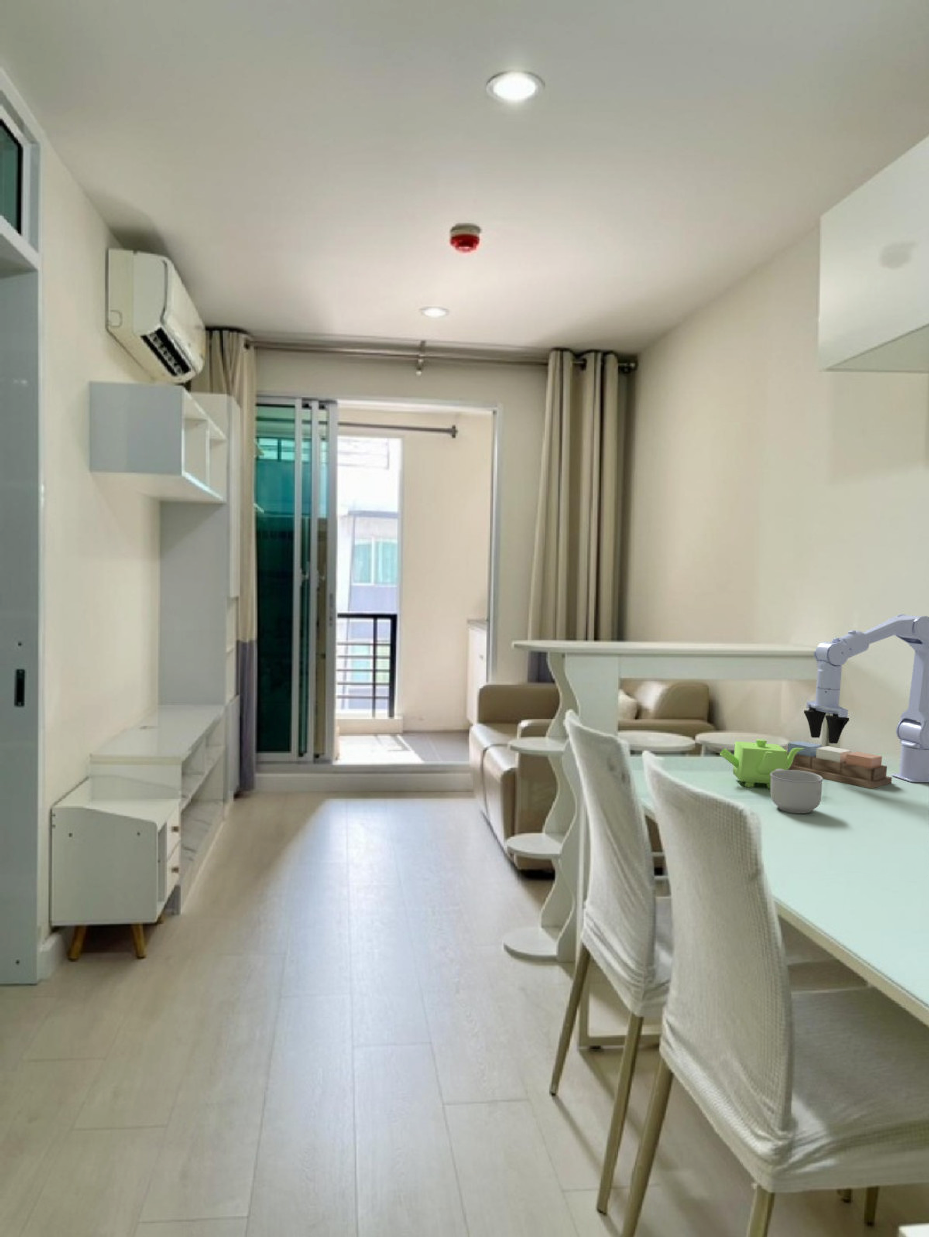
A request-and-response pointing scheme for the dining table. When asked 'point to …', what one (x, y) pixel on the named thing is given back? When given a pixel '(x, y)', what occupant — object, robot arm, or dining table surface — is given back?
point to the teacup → (796, 790)
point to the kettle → (758, 761)
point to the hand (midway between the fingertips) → (824, 740)
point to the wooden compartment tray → (842, 771)
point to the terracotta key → (864, 760)
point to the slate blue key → (808, 748)
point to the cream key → (832, 754)
